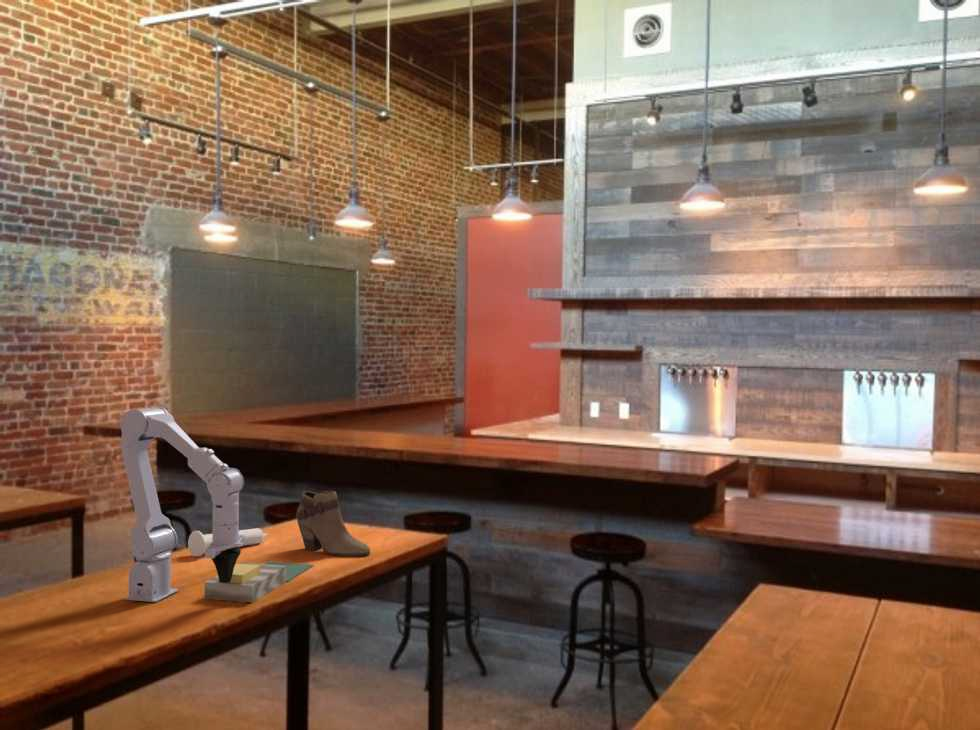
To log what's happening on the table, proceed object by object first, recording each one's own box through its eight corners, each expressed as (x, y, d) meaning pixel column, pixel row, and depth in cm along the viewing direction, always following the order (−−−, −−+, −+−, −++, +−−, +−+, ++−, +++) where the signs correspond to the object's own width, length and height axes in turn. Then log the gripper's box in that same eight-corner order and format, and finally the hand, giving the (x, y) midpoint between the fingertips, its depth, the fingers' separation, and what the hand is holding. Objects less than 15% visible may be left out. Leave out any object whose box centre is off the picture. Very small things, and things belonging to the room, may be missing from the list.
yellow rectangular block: (242, 583, 200) (242, 575, 200) (218, 581, 201) (218, 573, 201) (260, 573, 209) (260, 565, 209) (237, 571, 210) (237, 563, 210)
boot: (363, 558, 240) (363, 497, 240) (288, 551, 247) (288, 491, 247) (375, 552, 248) (376, 492, 248) (302, 544, 255) (303, 486, 255)
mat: (287, 582, 216) (287, 580, 216) (239, 578, 219) (239, 577, 219) (313, 565, 232) (313, 564, 232) (268, 562, 235) (268, 561, 235)
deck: (252, 603, 199) (252, 585, 199) (204, 599, 201) (204, 582, 201) (286, 581, 216) (286, 565, 216) (241, 578, 219) (241, 562, 219)
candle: (190, 527, 241) (262, 519, 261) (185, 551, 241) (257, 541, 262) (205, 536, 237) (277, 527, 257) (200, 561, 237) (272, 550, 258)
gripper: (225, 530, 190) (225, 592, 190) (256, 517, 204) (256, 574, 205) (196, 528, 191) (196, 589, 192) (229, 515, 206) (228, 572, 206)
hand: (225, 581), depth 198 cm, fingers closed
